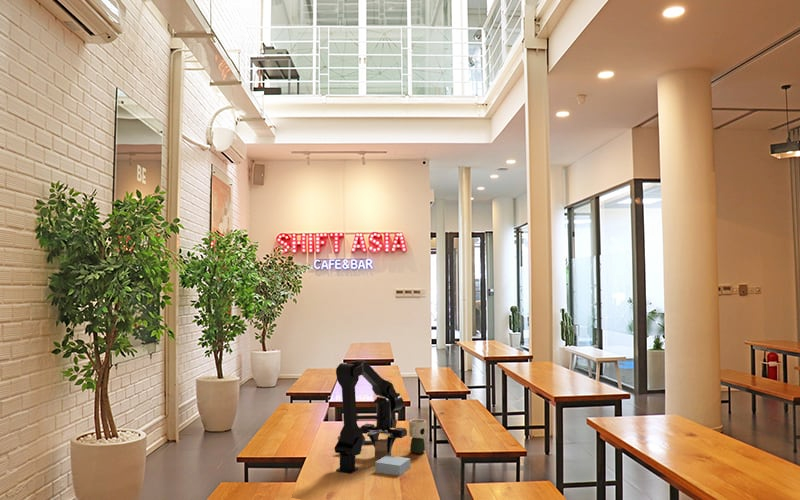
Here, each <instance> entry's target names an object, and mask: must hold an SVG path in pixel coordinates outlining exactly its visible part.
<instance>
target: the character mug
mask: <svg viewBox="0 0 800 500" xmlns="http://www.w3.org/2000/svg"><path fill="white" fill-rule="evenodd" d="M408 422H409V424H408V425H409V426H408V430H409V431H408V435H409V437H410V438H411V441H410V449H409V451H410V452H411V453H415V454H424V453H425V452H426V447H425V440H424V439H425V438H426V437H427V420H425V419H419V418H414V419H410V420H409V421H408Z"/></svg>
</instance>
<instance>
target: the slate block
mask: <svg viewBox="0 0 800 500" xmlns="http://www.w3.org/2000/svg"><path fill="white" fill-rule="evenodd" d="M374 463H375V465H374V472H375V473H379V474H385V475H386V474H387V475H392V476H402V475H403V474H405V472H407V471H408V470H410V469H411V458H410V457H409V458H408V457H401V456H395V455H391V456H388V455H386V456H384V457H383V458H380V459H378V460H376V461H375V462H374Z"/></svg>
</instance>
